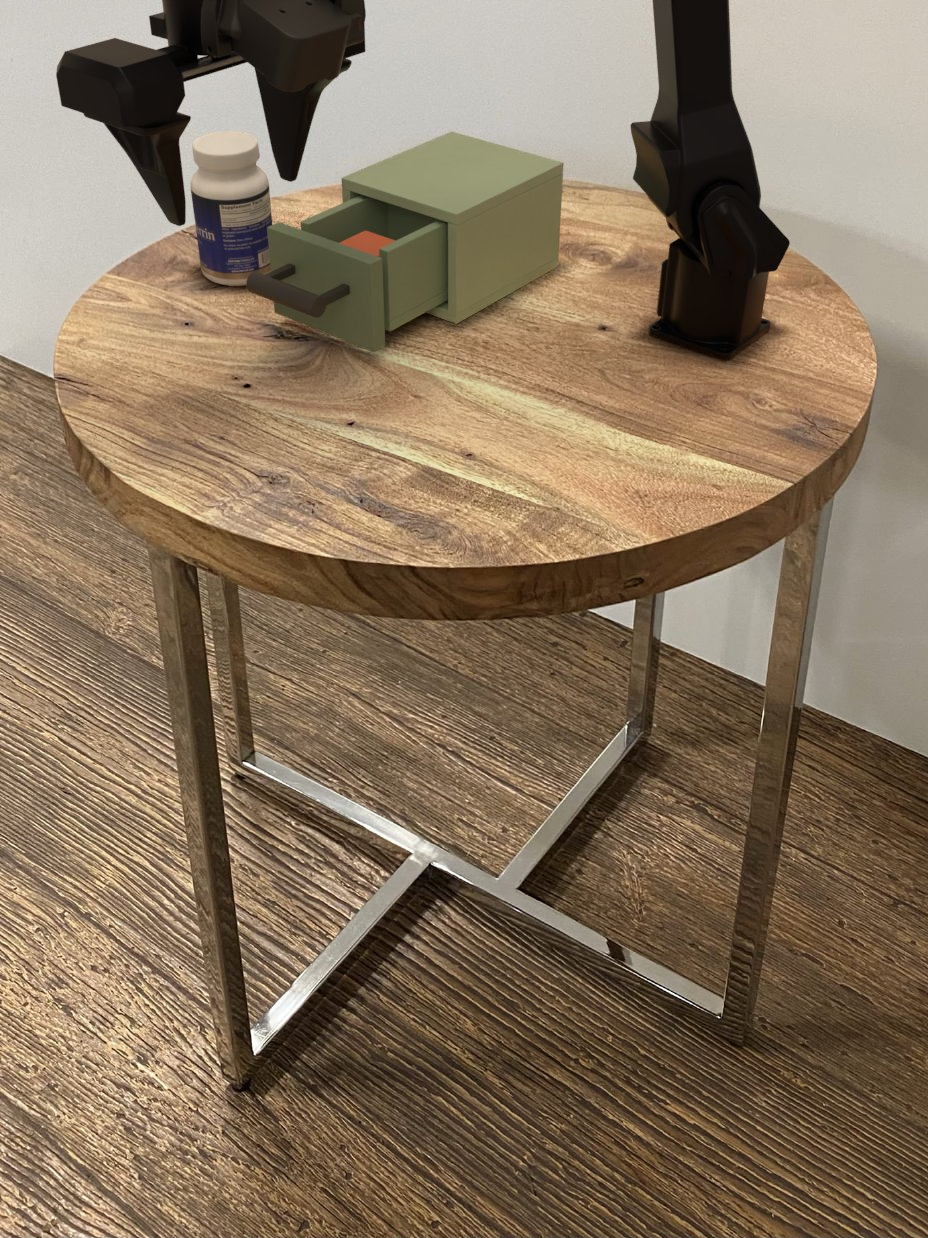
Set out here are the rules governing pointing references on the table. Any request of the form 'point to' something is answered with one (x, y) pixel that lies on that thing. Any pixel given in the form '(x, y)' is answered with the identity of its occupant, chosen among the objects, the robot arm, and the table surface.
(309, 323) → the drawer
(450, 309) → the cabinet
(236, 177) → the pill bottle
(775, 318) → the table surface
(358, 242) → the block
